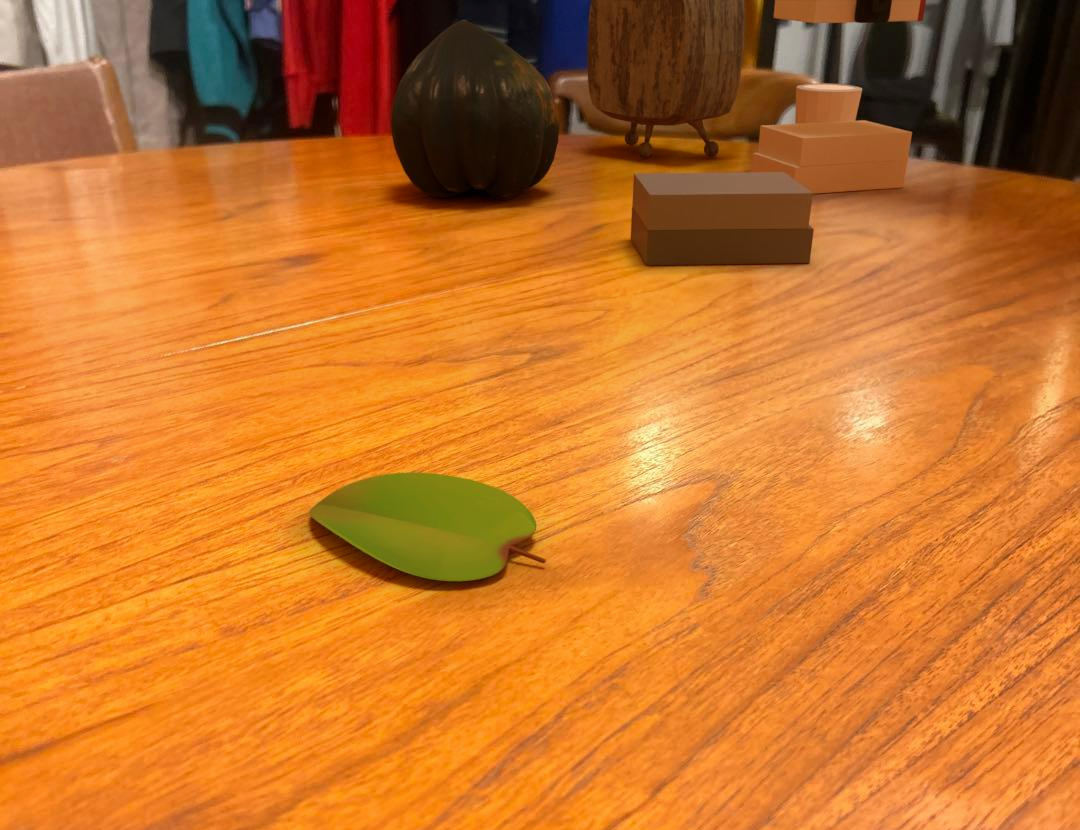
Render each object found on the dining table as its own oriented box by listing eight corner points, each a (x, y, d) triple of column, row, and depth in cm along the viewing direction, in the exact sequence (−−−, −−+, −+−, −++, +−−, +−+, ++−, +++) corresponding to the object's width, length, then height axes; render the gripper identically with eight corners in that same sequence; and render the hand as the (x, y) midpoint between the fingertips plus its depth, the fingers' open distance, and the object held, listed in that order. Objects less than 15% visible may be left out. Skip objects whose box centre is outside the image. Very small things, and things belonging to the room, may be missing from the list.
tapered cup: (786, 149, 122) (794, 82, 118) (849, 151, 121) (858, 83, 118) (790, 160, 116) (798, 89, 112) (856, 162, 115) (866, 91, 112)
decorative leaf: (379, 621, 38) (376, 599, 38) (298, 508, 45) (295, 488, 44) (569, 556, 41) (568, 535, 41) (467, 459, 48) (465, 440, 47)
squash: (504, 153, 87) (546, -8, 90) (343, 149, 92) (386, -4, 95) (555, 242, 100) (590, 99, 103) (411, 234, 105) (448, 98, 108)
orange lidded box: (855, 172, 110) (863, 119, 108) (903, 187, 103) (912, 132, 101) (750, 179, 107) (755, 125, 104) (792, 195, 100) (799, 138, 98)
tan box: (877, 15, 103) (882, -21, 101) (923, 21, 97) (929, -18, 95) (773, 18, 100) (776, -20, 98) (814, 23, 94) (818, -17, 92)
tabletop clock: (734, 157, 117) (758, -114, 105) (686, 169, 111) (705, -117, 99) (627, 142, 125) (637, -110, 113) (577, 153, 119) (582, -113, 107)
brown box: (781, 237, 86) (788, 171, 84) (809, 263, 79) (818, 192, 77) (630, 238, 85) (633, 172, 83) (646, 265, 78) (649, 194, 76)
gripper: (984, -231, 83) (941, 25, 92) (856, -207, 98) (829, 12, 106) (901, -236, 81) (865, 27, 90) (783, -211, 96) (761, 14, 104)
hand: (846, 17), depth 98 cm, fingers closed on tan box, 7 cm apart
